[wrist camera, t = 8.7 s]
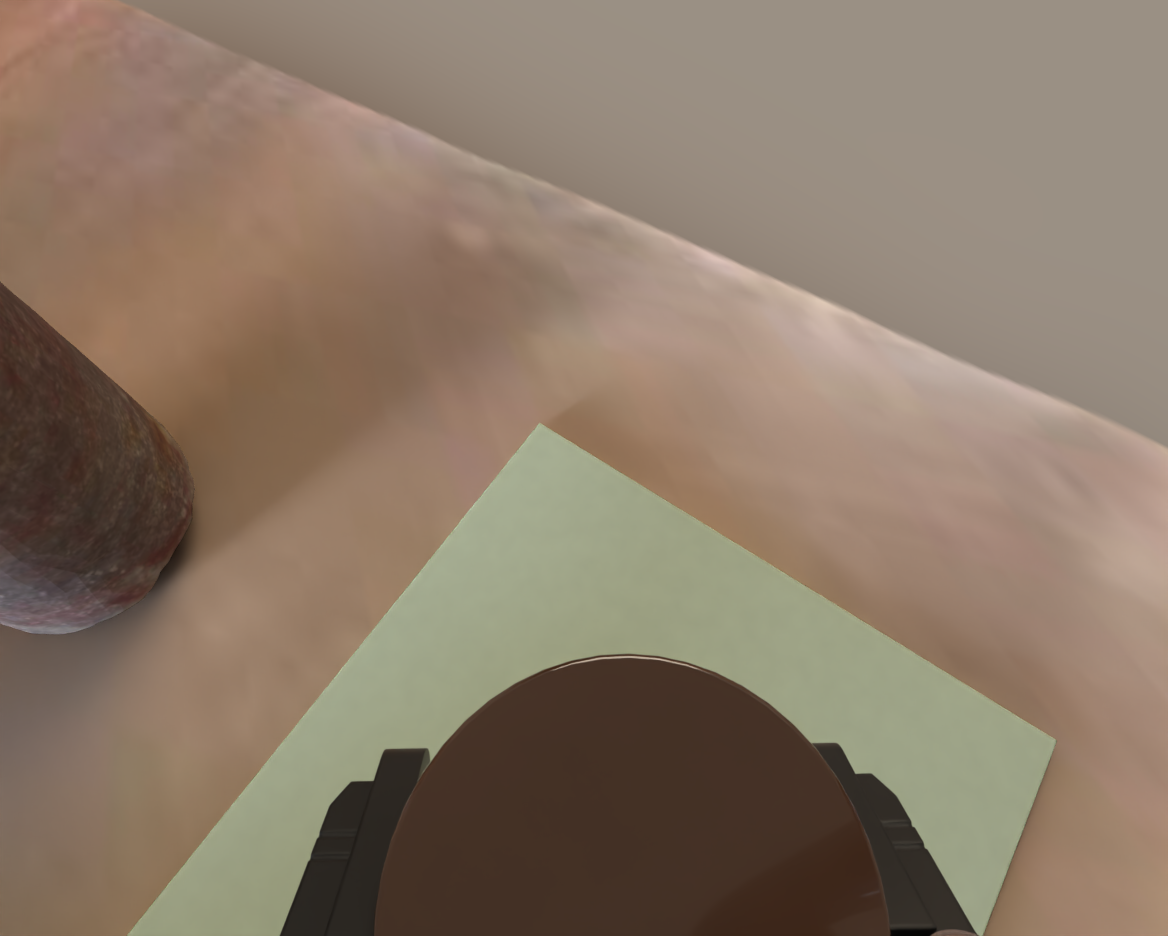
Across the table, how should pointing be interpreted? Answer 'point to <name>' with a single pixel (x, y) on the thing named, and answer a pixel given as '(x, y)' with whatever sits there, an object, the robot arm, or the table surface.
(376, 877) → the robot arm
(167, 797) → the table surface
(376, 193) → the table surface
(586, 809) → the jar
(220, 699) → the table surface
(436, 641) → the desk mat
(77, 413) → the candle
